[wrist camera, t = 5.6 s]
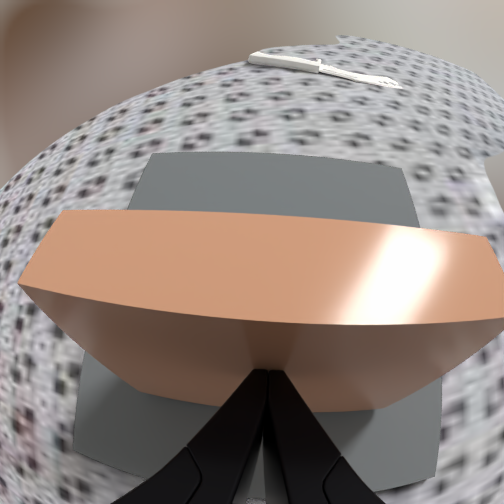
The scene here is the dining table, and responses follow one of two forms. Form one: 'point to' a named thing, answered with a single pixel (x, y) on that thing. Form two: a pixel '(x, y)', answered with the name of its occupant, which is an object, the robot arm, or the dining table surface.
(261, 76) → the dining table surface
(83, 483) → the dining table surface
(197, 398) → the tile
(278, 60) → the knife
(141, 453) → the mat
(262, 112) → the dining table surface
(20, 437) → the dining table surface
